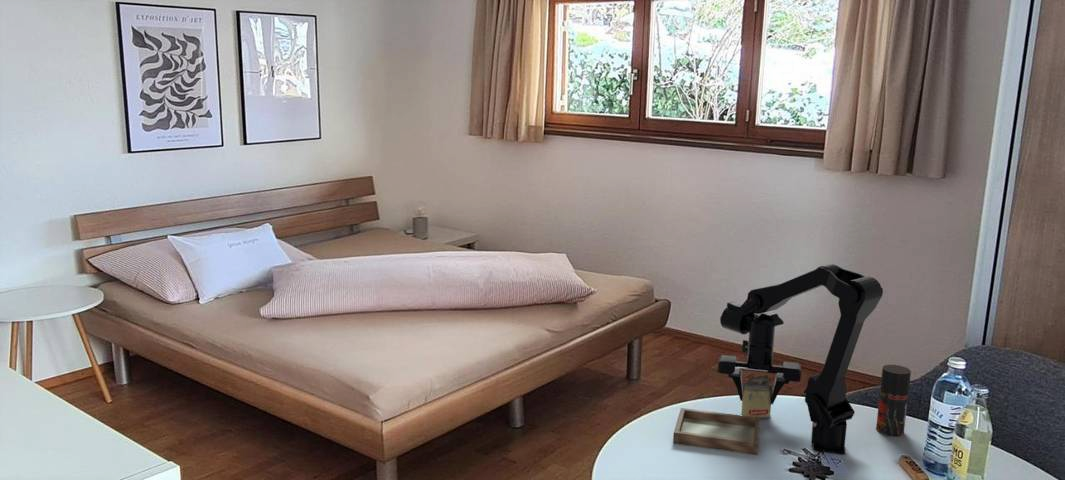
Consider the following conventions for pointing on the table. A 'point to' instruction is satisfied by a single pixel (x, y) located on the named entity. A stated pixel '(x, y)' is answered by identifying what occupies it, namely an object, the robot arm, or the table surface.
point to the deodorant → (893, 400)
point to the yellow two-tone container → (757, 397)
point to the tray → (717, 431)
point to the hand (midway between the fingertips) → (756, 402)
